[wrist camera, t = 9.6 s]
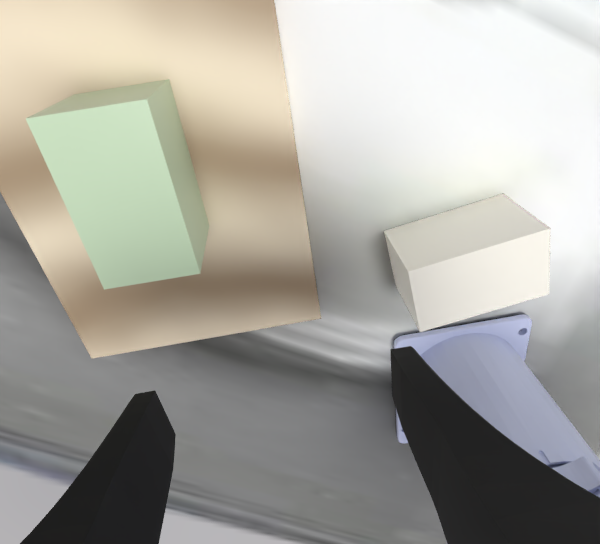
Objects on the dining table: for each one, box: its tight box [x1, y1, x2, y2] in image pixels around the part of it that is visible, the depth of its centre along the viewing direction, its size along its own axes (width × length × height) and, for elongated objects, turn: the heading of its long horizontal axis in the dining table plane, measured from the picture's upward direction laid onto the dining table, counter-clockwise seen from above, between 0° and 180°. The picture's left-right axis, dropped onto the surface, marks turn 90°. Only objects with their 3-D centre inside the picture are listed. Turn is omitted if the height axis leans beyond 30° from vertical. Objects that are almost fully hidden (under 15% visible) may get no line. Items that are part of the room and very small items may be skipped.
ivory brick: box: [384, 194, 551, 332], centre depth 20 cm, size 6×4×4 cm, turn 107°
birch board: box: [0, 0, 321, 358], centre depth 18 cm, size 18×12×1 cm, turn 8°
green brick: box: [26, 79, 209, 290], centre depth 16 cm, size 6×4×4 cm, turn 8°
